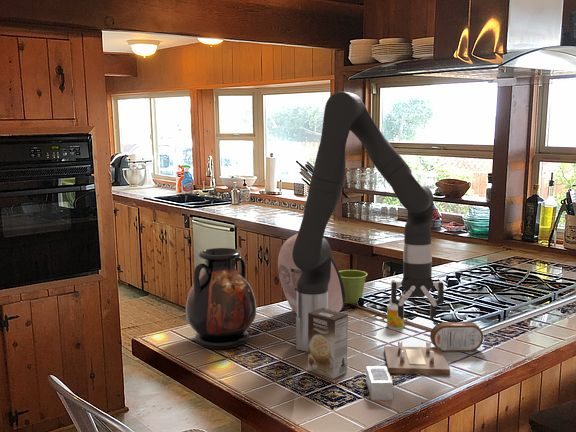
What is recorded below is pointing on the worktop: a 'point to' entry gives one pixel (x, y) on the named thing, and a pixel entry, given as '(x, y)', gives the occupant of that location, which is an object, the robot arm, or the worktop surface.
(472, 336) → the tin
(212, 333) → the amphora vase
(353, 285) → the plant pot
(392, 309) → the supplement bottle
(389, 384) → the white rectangular box
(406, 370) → the pin tray
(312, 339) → the coffee box
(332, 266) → the pink rounded upright piece
